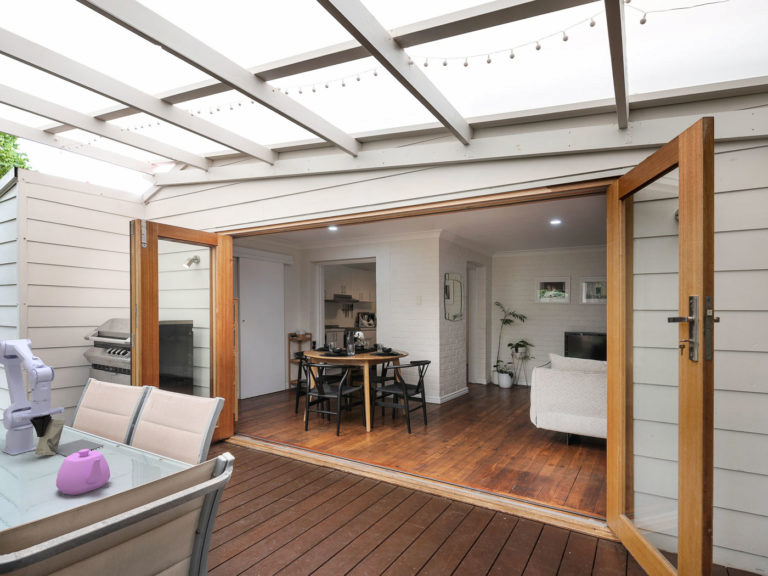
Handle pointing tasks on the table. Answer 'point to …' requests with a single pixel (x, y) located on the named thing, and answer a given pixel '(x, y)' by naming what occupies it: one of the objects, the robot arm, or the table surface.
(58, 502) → the table surface
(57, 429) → the box
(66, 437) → the table surface
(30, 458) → the table surface
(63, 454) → the mat
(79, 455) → the teapot
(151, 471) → the table surface
